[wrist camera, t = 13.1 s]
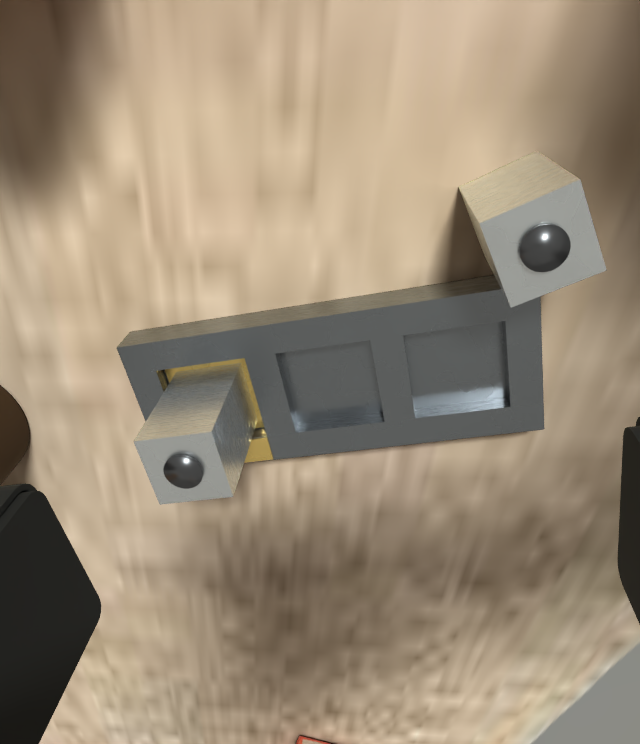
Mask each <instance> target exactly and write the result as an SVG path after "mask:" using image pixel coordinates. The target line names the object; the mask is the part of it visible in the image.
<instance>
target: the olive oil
mask: <svg viewBox="0 0 640 744" xmlns="http://www.w3.org/2000/svg"><path fill="white" fill-rule="evenodd" d="M28 444H29V427H28V423H27V420H26V418H25V415H24V413H23V411H22V410H21V408H20V406H19V405H18V404H17V402H16V401H15V400H14V398H13V397H12V396H11V395H10V394H9V393H8V392H7V391H6V390H5V389H4V388H2V387H1V386H0V485H1V484H2V482H3V481H4V480H5V479H6V477H7V476H8V475H9V474H10V472H11V471H12V470H13V469H14V467H15V466H16V465H17V464H18V462H19V461H20V460H21V458H22V457H23V456H24V454H25V452H26V450H27V447H28Z"/></svg>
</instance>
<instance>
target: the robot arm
mask: <svg viewBox="0 0 640 744" xmlns="http://www.w3.org/2000/svg"><path fill="white" fill-rule="evenodd" d="M618 569H619V574H620V578H621V582H622V585H623V587H624V590H625V592H626V594H627V596H628V599H629V601H630V603H631V605H632V608H633V610H634V612H635V614H636V617H637V619H638V621H639V623H640V417H638V419H637V422H636V426H635V427H627V428H625V430H624V435H623V454H622V476H621V498H620V520H619V542H618ZM100 613H101V602H100V599H99V596H98V594H97V592H96V591H95V589H94V587H93V585H92V583H91V581H90V579H89V577H88V575H87V574H86V572H85V570H84V568H83V566H82V564H81V562H80V560H79V558H78V557H77V555H76V553H75V551H74V549H73V547H72V545H71V543H70V541H69V540H68V538H67V536H66V534H65V532H64V530H63V528H62V526H61V524H60V523H59V521H58V519H57V517H56V515H55V513H54V511H53V509H52V507H51V506H50V504H49V502H48V500H47V498H46V496H45V495H44V494H43V493H42V492H40V491H37V490H36V488H35V487H33V486H32V485H30V484H16V485H7V486H0V744H39V742H40V740H41V738H42V736H43V734H44V732H45V730H46V728H47V726H48V724H49V721H50V719H51V717H52V715H53V713H54V711H55V709H56V707H57V705H58V703H59V701H60V699H61V697H62V695H63V693H64V691H65V689H66V687H67V684H68V682H69V680H70V678H71V676H72V674H73V672H74V670H75V668H76V666H77V664H78V662H79V660H80V658H81V656H82V654H83V652H84V650H85V647H86V645H87V643H88V641H89V639H90V637H91V635H92V633H93V631H94V629H95V627H96V625H97V623H98V620H99V618H100Z"/></svg>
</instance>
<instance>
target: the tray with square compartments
mask: <svg viewBox="0 0 640 744" xmlns="http://www.w3.org/2000/svg"><path fill="white" fill-rule="evenodd" d="M117 350H118V353H119V355H120V358H121V360H122V363H123V365H124V368H125V370H126V373H127V375H128V378H129V380H130V383H131V385H132V388H133V390H134V393H135V396H136V398H137V401H138V403H139V406H140V408H141V411H142V413H143V416H144V418H145V421H146V420H147V419H148V417H149V416H150V414H151V412H152V411H153V409H154V407H155V406H156V404H157V403H158V401H159V399H160V398H161V396H162V394H163V393H164V391H165V390H166V388H167V386H168V385H169V383H170V381H171V380H172V378H173V377H174V375H175V373H176V372H179V371H186V370H193V369H200V368H207V367H214V366H221V365H228V364H235V363H241V364H242V368H243V371H244V375H245V378H246V381H247V385H248V388H249V392H250V395H251V398H252V402H253V405H254V409H255V412H256V415H257V419H258V421H257V424H256V427H255V430H254V434H253V437H252V440H251V443H250V446H249V449H248V452H247V455H246V459H245V462H244V463H249V462H258V461H267V460H276V459H285V458H294V457H303V456H311V455H320V454H329V453H338V452H347V451H356V450H365V449H374V448H382V447H391V446H400V445H409V444H418V443H427V442H436V441H445V440H454V439H462V438H471V437H480V436H489V435H498V434H507V433H516V432H525V431H533V430H542V429H544V403H543V370H542V336H541V303H540V297H537V298H535V299H532V300H529V301H527V302H524V303H522V304H519V305H517V306H514V307H510V305H509V303H508V301H507V299H506V297H505V295H504V293H503V291H502V290H501V288H500V286H499V284H498V282H497V280H496V278H495V276H494V275H492V276H486V277H479V278H473V279H466V280H460V281H453V282H447V283H441V284H434V285H428V286H421V287H415V288H409V289H402V290H396V291H389V292H383V293H376V294H370V295H364V296H357V297H351V298H344V299H338V300H332V301H325V302H319V303H312V304H306V305H299V306H293V307H287V308H280V309H274V310H267V311H261V312H255V313H248V314H242V315H235V316H229V317H222V318H216V319H210V320H203V321H197V322H190V323H184V324H178V325H171V326H165V327H158V328H152V329H145V330H139V331H133V332H130V333H129V334H128V335H127V336H126V337H125V338H124V340H123V341H122V342H121V343H120V344H119V345H118V347H117Z"/></svg>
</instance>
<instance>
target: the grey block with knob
mask: <svg viewBox="0 0 640 744" xmlns="http://www.w3.org/2000/svg"><path fill="white" fill-rule="evenodd" d="M257 421H258V419H257V415H256V412H255V409H254V405H253V402H252V398H251V395H250V392H249V388H248V385H247V381H246V378H245V375H244V371H243V368H242V364H241V363H235V364H228V365H221V366H214V367H207V368H200V369H193V370H186V371H179V372H176V373H175V375H174V377H173V378H172V380H171V381H170V383H169V385H168V386H167V388H166V390H165V391H164V393H163V394H162V396H161V398H160V399H159V401H158V403H157V404H156V406H155V407H154V409H153V411H152V412H151V414H150V416H149V417H148V419H147V420H146V422H145V424H144V425H143V427H142V429H141V430H140V432H139V434H138V435H137V437H136V438H135V440H134V444H135V446H136V449H137V451H138V453H139V456H140V458H141V461H142V463H143V465H144V468H145V470H146V473H147V475H148V477H149V480H150V482H151V485H152V487H153V489H154V492H155V494H156V497H157V499H158V501H159V504H169V503H179V502H188V501H198V500H208V499H217V498H227V497H233V496H234V493H235V490H236V487H237V484H238V481H239V477H240V474H241V471H242V468H243V465H244V462H245V459H246V455H247V452H248V449H249V446H250V443H251V440H252V437H253V434H254V430H255V427H256V424H257Z"/></svg>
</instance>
